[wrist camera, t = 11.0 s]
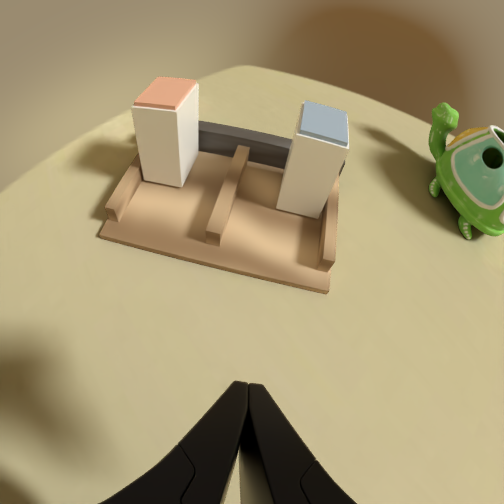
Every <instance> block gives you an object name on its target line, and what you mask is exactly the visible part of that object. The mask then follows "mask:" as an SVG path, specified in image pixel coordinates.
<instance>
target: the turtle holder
mask: <svg viewBox="0 0 504 504" xmlns="http://www.w3.org/2000/svg"><path fill="white" fill-rule="evenodd" d="M432 118H433V124H432V127H431V130H430V134H429V147H430V151H431V153H432V155H433V157H434V158H435V160H436V175H437V176H436V177H435V178H434V179H433V180H432V182H431V183H430V185H429V192H430V194H431V195H432V196H433V197H437V196H438V194H439V191H440V189H441V187H442V189H443V191H444V193H445V194H446V196H447V197H448V199H449V200H450V202H451V203H452V205H453V206H454V207H455V208H456V210H457V211H458V212H459V213H460V214H461V215H460V217H459V220H458V225H459V229H460V231H461V233H462V234H463V235H464V237H465V238H467V239H471V237H472V232H471V225H473V226H474V227H476V228H477V229H479V230H480V231H482V232H483V233H485V234H487V235H490V236H499V235H501V234H503V233H504V131H503V130H502V129H500V128H499V127H497V126H493V125H490V126H489V127H481V128H470V129H468V130H466V131H464V132H462V133H461V134H459V135H458V136H457V137H456V138H455V139H454V140H453V141H452V142H451V143H450V144H448V145H447V146H446V137H447V135H448V133H449V132H451V131H452V130H454V129H456V127H457V123H458V118H459V115H458V112H457V111H456V110H455V109H452V108H451V107H450V106H449V105H448V104H447V103H441V104H439V105H438V106H437V108H433V109H432Z"/></svg>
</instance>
